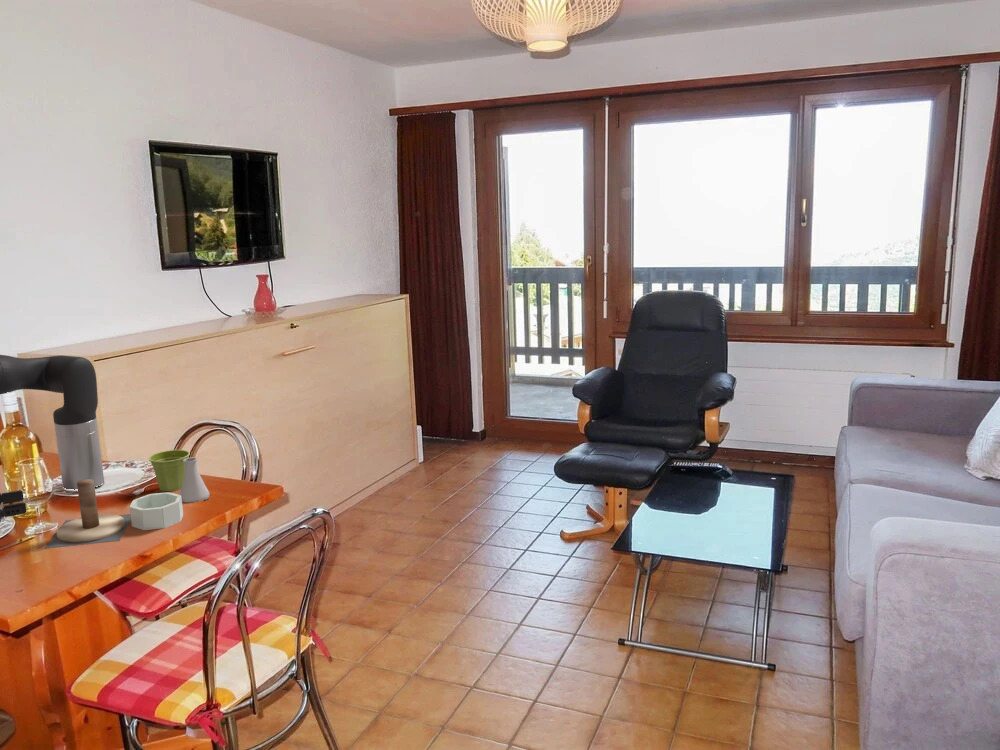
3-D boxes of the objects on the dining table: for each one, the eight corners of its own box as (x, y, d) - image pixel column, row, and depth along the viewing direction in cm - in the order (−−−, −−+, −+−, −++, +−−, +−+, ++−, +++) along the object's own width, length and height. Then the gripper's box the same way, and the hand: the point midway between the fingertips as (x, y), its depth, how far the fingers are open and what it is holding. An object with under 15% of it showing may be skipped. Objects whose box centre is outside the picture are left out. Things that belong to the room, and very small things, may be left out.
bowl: (138, 516, 177) (135, 495, 176) (185, 511, 179) (183, 490, 178) (129, 533, 167) (126, 511, 166) (179, 528, 170) (176, 506, 168)
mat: (65, 522, 173) (65, 520, 173) (133, 515, 177) (133, 513, 177) (45, 550, 159) (45, 548, 159) (119, 542, 163) (119, 540, 162)
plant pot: (143, 492, 192) (139, 458, 190) (174, 479, 200) (171, 447, 198) (170, 497, 188) (167, 463, 186) (201, 485, 196) (198, 452, 194)
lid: (66, 521, 172) (60, 474, 170) (130, 515, 176) (124, 469, 173) (49, 546, 160) (41, 495, 158) (117, 538, 163) (111, 489, 161)
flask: (186, 493, 191) (182, 454, 189) (215, 493, 190) (211, 454, 188) (172, 504, 184) (167, 463, 182) (201, 505, 183) (197, 464, 181)
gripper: (-78, 511, 144) (24, 493, 153) (-75, 489, 156) (19, 474, 165) (-71, 549, 145) (29, 529, 154) (-70, 525, 157) (24, 508, 166)
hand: (24, 501), depth 159 cm, fingers open, 8 cm apart
